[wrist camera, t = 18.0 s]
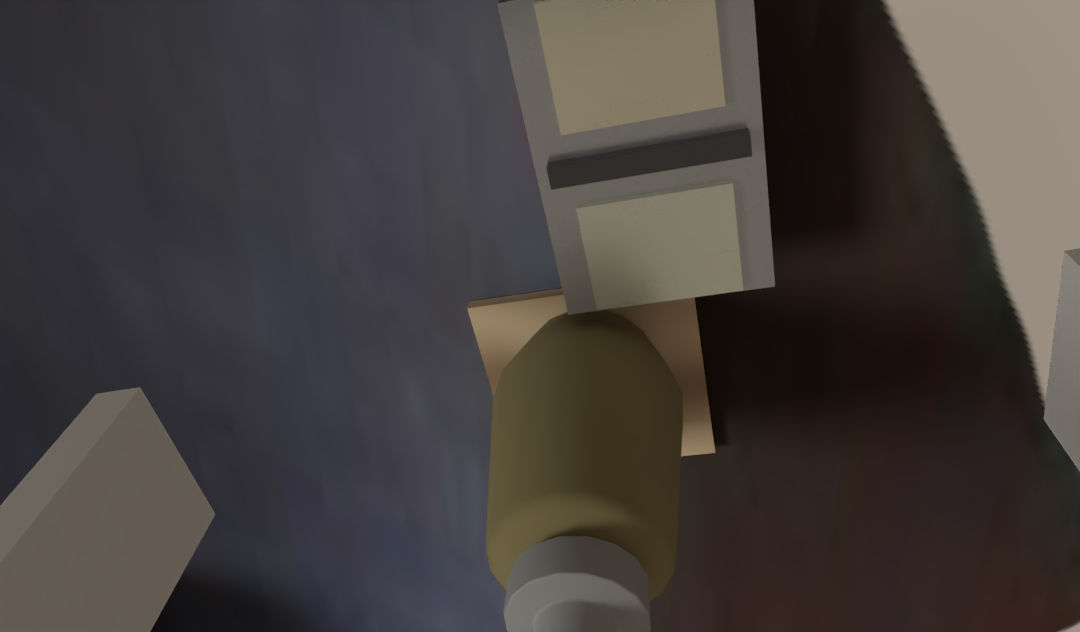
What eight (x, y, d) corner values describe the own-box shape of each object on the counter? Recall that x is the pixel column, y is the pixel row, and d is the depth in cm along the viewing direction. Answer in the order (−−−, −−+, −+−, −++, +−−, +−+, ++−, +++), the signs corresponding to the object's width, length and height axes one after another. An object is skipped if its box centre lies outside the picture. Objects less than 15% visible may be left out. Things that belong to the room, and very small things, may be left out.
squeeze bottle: (467, 344, 38) (366, 708, 23) (607, 250, 35) (597, 601, 20) (576, 453, 41) (550, 839, 26) (714, 375, 38) (778, 763, 22)
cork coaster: (469, 301, 37) (467, 308, 37) (690, 269, 36) (691, 276, 35) (518, 465, 42) (516, 473, 42) (714, 444, 41) (715, 452, 40)
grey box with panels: (511, -20, 30) (494, 7, 26) (734, -68, 28) (752, -47, 25) (573, 266, 36) (567, 322, 32) (759, 238, 35) (777, 294, 31)
